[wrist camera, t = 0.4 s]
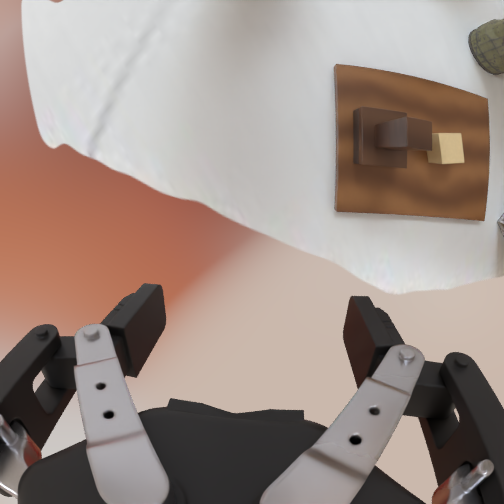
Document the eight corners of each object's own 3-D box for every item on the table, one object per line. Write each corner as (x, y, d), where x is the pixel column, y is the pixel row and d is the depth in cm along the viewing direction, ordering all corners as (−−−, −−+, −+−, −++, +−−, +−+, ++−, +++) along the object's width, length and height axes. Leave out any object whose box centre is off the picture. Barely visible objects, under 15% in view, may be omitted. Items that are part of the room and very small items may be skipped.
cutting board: (333, 66, 32) (335, 63, 31) (482, 99, 30) (487, 98, 29) (334, 209, 38) (336, 211, 37) (479, 218, 37) (484, 221, 35)
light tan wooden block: (424, 134, 32) (438, 133, 29) (446, 133, 32) (461, 133, 28) (428, 162, 34) (442, 164, 30) (449, 161, 33) (464, 163, 29)
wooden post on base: (352, 110, 33) (389, 91, 20) (394, 116, 32) (444, 103, 20) (353, 163, 35) (390, 168, 23) (394, 166, 34) (444, 175, 22)
